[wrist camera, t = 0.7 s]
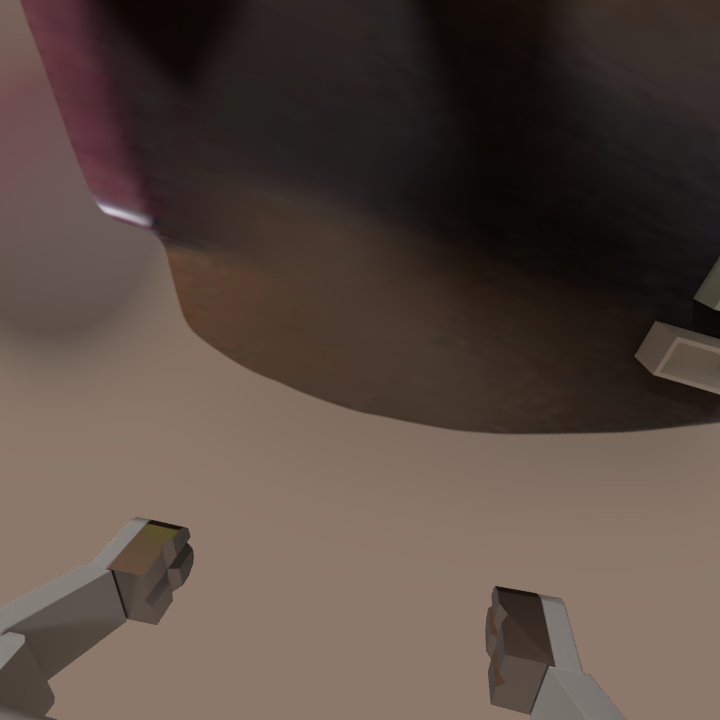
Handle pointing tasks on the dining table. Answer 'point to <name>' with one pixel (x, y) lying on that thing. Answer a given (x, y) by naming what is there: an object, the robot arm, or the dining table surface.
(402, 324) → the dining table surface
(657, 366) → the small tote
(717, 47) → the dining table surface
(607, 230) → the dining table surface
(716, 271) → the box
